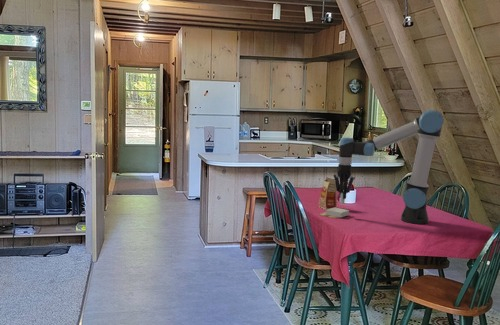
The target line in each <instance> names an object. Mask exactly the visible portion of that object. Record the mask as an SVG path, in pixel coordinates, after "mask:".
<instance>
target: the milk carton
mask: <svg viewBox="0 0 500 325" xmlns="http://www.w3.org/2000/svg"><path fill="white" fill-rule="evenodd" d="M325 178H326V179H325V180H324V182H323V185H322V189H321V192H320V196H319V200H318V207H319V208H320V207H321V208H320V209H322V208H323V210H324V209H325V210H324V211H326V210H327V209H331V208H334V207H335V208H338V206H337V204H338V201H337V200H338V196H337V194H338V193H337V192H338V191H336V184H335V178H330V177H327V176H325Z"/></svg>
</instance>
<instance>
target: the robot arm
mask: <svg viewBox="0 0 500 325" xmlns="http://www.w3.org/2000/svg"><path fill="white" fill-rule="evenodd" d="M443 124H444V116H443V115H442V113H441V112H440V111H438V110H434V109H432V110H431V109H430V110H429V109H428V110H426V111H424V112H423V113H422V114H421V115H419V116H418V117H416V118H414V120H413V121H411V122H409V123H405V124H404V125H402V126H399V127H396V128H395V129H392V130H389V131H387V132H384V133H382V134H380V135H378V136H376V137H373V138H370V139H368V140H365V141H363V142H361V141H354V138H352V137H341V138H340V141H339V151H338V153H339V154H338V162H337V163H338V166H337V172H336V174H334V175H333V179H335V184H336V192H338V193H339V194H338V198H339V205H345V200H346V199H347V194H348V193H349V194H350V192H351V189H352V185H353V182H354V180H355V177H354V176H353V175H352V161H353V156H364V157H373V156H374V154H375V152H376V151H379V150H382V149H383V148H386V147H389V146H391V145H394V144H395V143H399V142H401V141H404V140H406V139H409V138H411V137H414V136H416V135H418V137H419V138H418V141H417V142H418V143H417V146H416V147H417V148H416V152H415V157H414V161H413V166H412V171H411V175H410V179H409V180H407V181H406V185H405V188H404V189H405V191H404V193H403V194H402V195H403V196H402V200H403V203H404V205H405V206H404V208H403V211H402V213H401V215H400V220H401V221H403V222H405V223H408V224H409V223H410V224H415V225H416V224H418V225H425V224H424V223H426V224H428V223H429V214H428V212H427V202H428V195H429V194H428V193H429V187H430V185H429V184H428V178H429V173H430V169H431V164H432V159H433V155H434V150H435V145H436V142H437V140H438V139H440V137H441V132H442V129H443Z"/></svg>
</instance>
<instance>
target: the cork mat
mask: <svg viewBox="0 0 500 325" xmlns="http://www.w3.org/2000/svg"><path fill="white" fill-rule="evenodd" d="M318 215H319V216H323V217H328V218H332V219H336V220H337V219H339V217H335V216H330V215H326V211H324V212H322V213H319V214H318Z"/></svg>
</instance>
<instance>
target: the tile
mask: <svg viewBox="0 0 500 325" xmlns="http://www.w3.org/2000/svg"><path fill="white" fill-rule="evenodd" d="M325 212H326V215H330V216H335V217H339V218H344V217H346V216H350V210H348V209H344V208H339V207H336V208H335V207H334V208H331V209H327V210H325ZM339 218H338V219H339Z"/></svg>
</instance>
